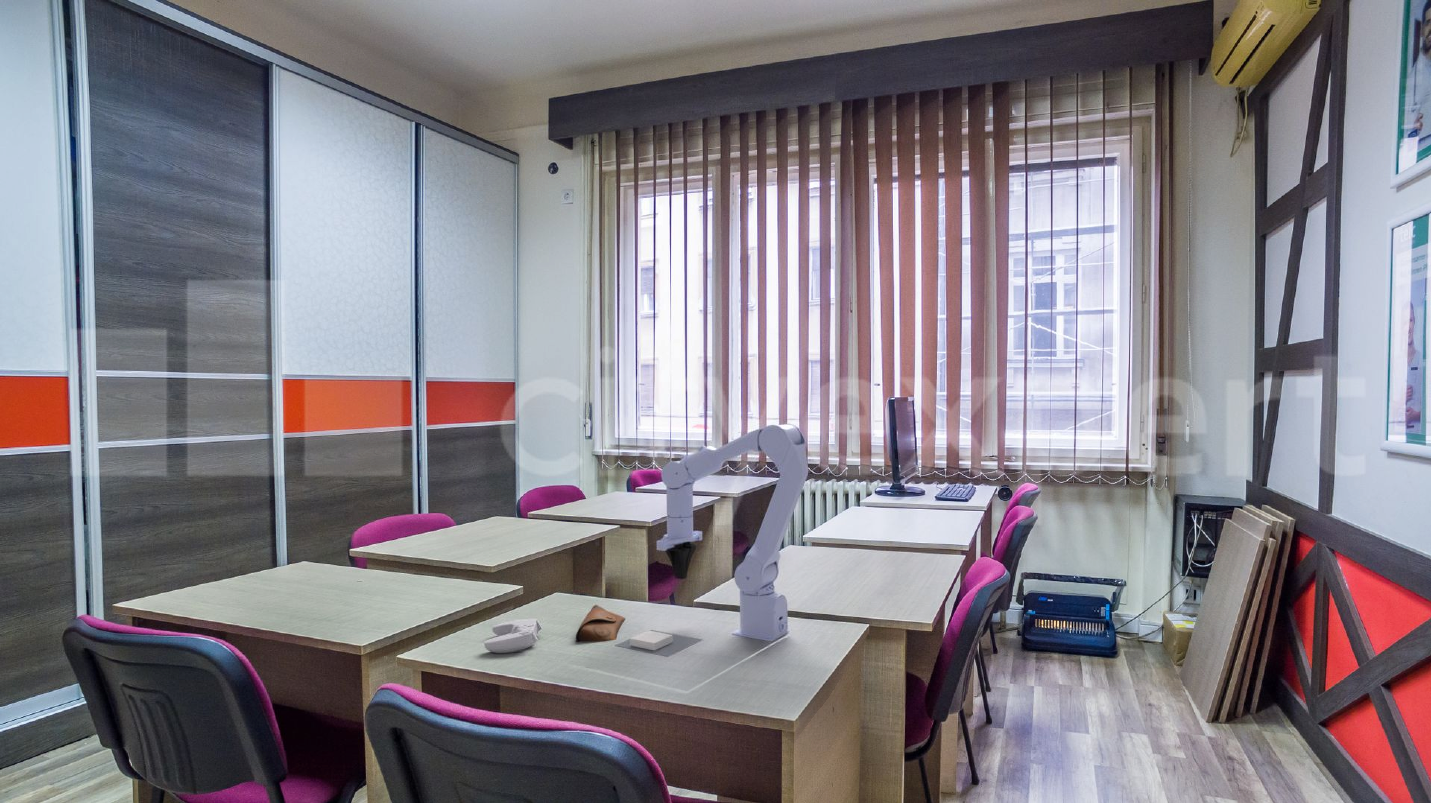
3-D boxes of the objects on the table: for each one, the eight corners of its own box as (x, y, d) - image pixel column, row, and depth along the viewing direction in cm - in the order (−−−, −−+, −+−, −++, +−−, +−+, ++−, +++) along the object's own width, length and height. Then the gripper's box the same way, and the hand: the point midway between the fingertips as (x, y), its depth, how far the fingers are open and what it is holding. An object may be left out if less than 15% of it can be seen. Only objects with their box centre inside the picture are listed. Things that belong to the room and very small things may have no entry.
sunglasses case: (618, 642, 154) (600, 614, 154) (588, 661, 154) (570, 632, 154) (627, 618, 172) (611, 592, 172) (600, 634, 172) (585, 609, 172)
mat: (703, 641, 155) (702, 639, 155) (667, 658, 145) (667, 656, 145) (651, 631, 162) (651, 629, 162) (614, 647, 152) (614, 645, 152)
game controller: (492, 620, 162) (539, 608, 163) (497, 640, 162) (544, 628, 163) (480, 641, 147) (532, 627, 149) (485, 663, 147) (537, 649, 149)
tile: (672, 634, 153) (654, 643, 148) (672, 642, 153) (654, 651, 148) (648, 630, 156) (630, 638, 151) (648, 637, 156) (630, 646, 151)
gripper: (684, 510, 176) (684, 569, 176) (644, 519, 163) (645, 582, 163) (709, 512, 172) (710, 573, 172) (671, 521, 160) (672, 586, 160)
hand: (680, 578), depth 167 cm, fingers closed
